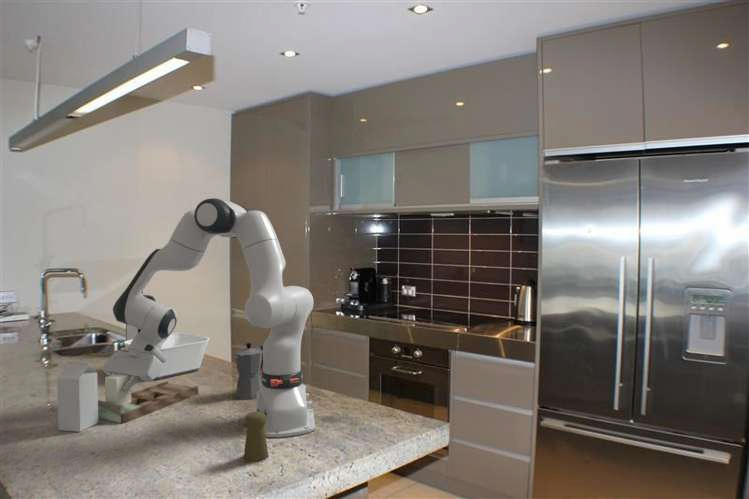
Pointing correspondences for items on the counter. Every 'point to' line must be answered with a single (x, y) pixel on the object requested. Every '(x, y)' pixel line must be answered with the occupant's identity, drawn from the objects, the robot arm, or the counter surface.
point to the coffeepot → (249, 371)
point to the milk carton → (77, 397)
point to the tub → (180, 353)
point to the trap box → (145, 402)
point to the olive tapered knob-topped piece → (255, 437)
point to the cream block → (117, 389)
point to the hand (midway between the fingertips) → (116, 389)
